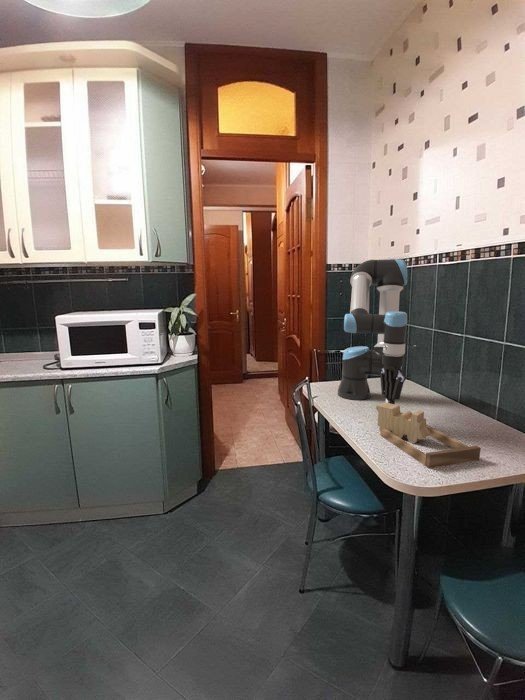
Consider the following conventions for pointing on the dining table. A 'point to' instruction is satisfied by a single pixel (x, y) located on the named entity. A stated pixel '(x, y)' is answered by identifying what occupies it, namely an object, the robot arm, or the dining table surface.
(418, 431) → the toy train
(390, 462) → the dining table surface
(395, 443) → the frame
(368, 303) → the robot arm
